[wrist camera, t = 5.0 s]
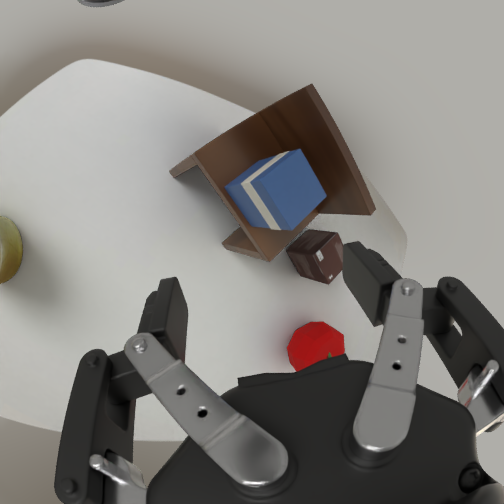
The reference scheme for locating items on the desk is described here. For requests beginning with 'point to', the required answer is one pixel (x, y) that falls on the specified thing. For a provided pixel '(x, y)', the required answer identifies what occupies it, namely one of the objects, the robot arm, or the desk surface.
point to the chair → (271, 144)
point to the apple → (314, 344)
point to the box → (317, 255)
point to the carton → (277, 191)
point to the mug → (9, 249)
